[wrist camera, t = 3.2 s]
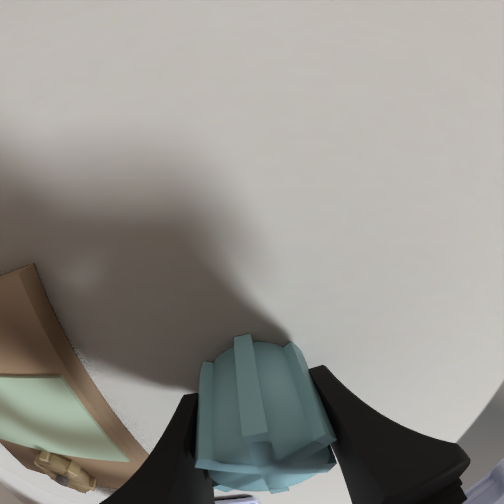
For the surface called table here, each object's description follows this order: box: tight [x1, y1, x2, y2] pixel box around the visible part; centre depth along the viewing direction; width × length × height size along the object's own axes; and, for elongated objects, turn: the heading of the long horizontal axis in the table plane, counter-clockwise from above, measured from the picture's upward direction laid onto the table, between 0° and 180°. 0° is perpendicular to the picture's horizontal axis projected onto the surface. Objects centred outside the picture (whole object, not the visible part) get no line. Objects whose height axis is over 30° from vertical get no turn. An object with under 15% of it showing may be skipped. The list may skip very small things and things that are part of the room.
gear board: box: [0, 263, 149, 493], centre depth 10 cm, size 17×16×3 cm
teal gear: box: [195, 334, 337, 494], centre depth 10 cm, size 5×4×5 cm
